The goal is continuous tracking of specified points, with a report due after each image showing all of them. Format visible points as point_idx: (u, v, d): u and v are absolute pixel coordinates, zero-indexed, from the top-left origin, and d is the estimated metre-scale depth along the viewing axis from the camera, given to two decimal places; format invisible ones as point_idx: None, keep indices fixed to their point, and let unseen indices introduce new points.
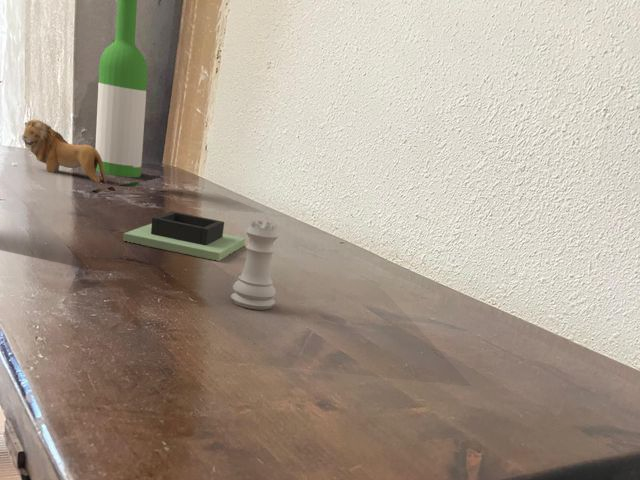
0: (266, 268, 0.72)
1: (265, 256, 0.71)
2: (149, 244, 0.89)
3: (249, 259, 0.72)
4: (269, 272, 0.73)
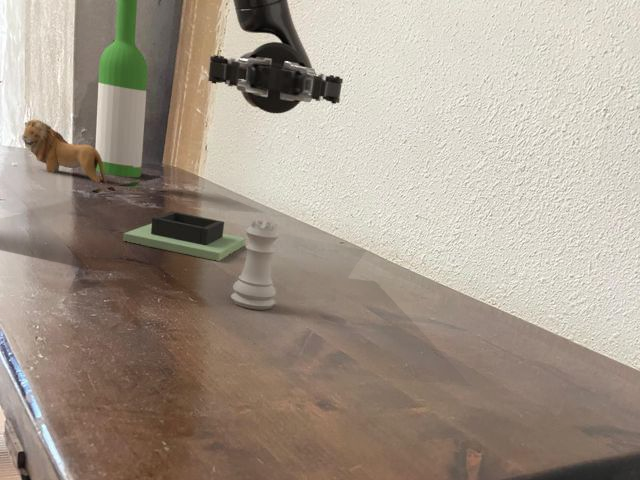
0: (266, 268, 0.72)
1: (265, 256, 0.71)
2: (149, 244, 0.89)
3: (249, 259, 0.72)
4: (269, 272, 0.73)
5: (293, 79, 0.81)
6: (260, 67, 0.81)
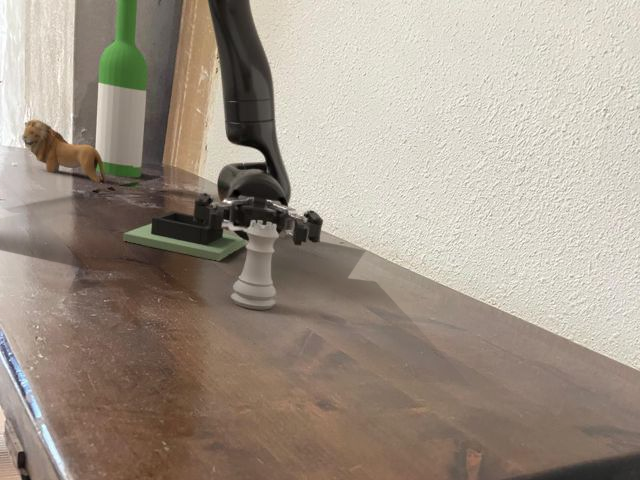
0: (266, 268, 0.72)
1: (265, 256, 0.71)
2: (149, 244, 0.89)
3: (249, 259, 0.72)
4: (269, 272, 0.73)
5: (275, 219, 0.84)
6: (243, 207, 0.83)
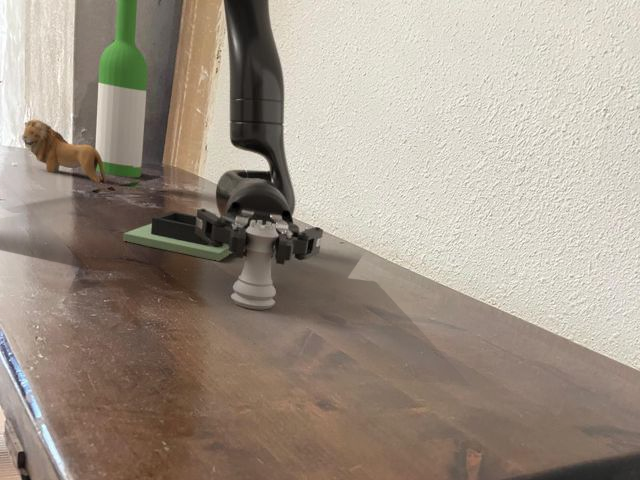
0: (266, 268, 0.72)
1: (265, 256, 0.71)
2: (149, 244, 0.89)
3: (249, 259, 0.72)
4: (269, 272, 0.73)
5: None
6: None
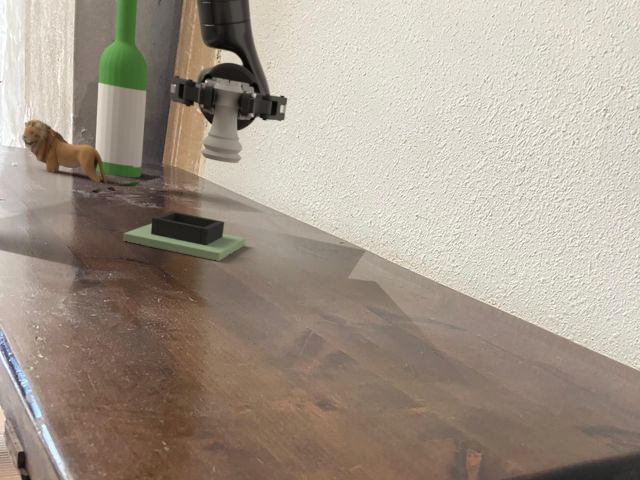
0: (232, 123, 0.80)
1: (231, 111, 0.79)
2: (149, 244, 0.89)
3: (216, 114, 0.79)
4: (235, 127, 0.80)
5: None
6: None
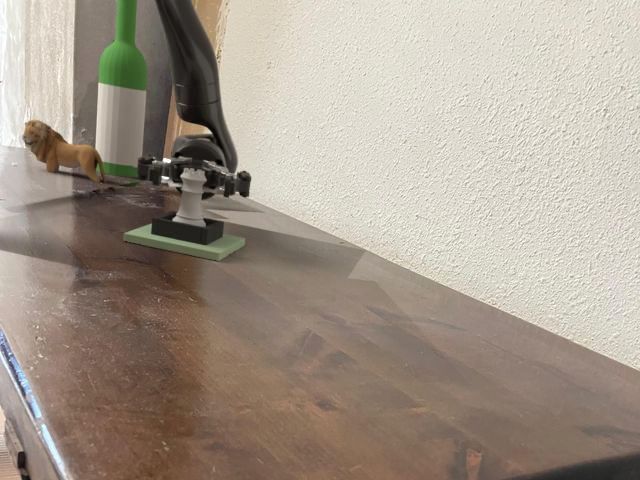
0: (197, 206, 0.92)
1: (196, 196, 0.91)
2: (149, 244, 0.89)
3: (183, 198, 0.92)
4: (200, 209, 0.93)
5: (209, 176, 0.96)
6: (181, 166, 0.95)
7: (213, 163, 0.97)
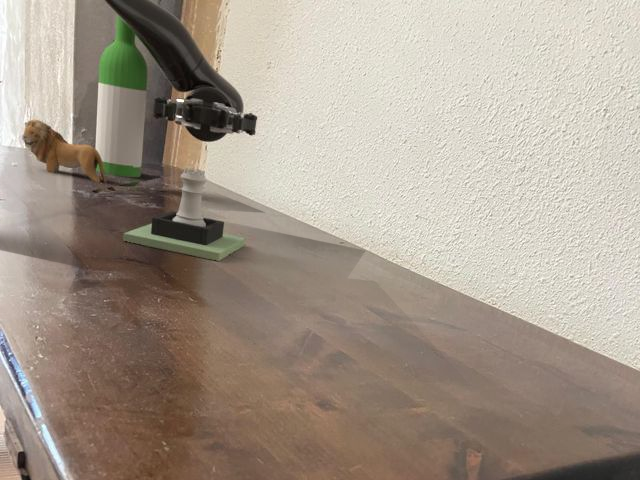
0: (197, 206, 0.92)
1: (196, 196, 0.91)
2: (149, 244, 0.89)
3: (183, 198, 0.92)
4: (200, 209, 0.93)
5: (219, 116, 1.05)
6: (193, 106, 1.04)
7: (222, 105, 1.06)
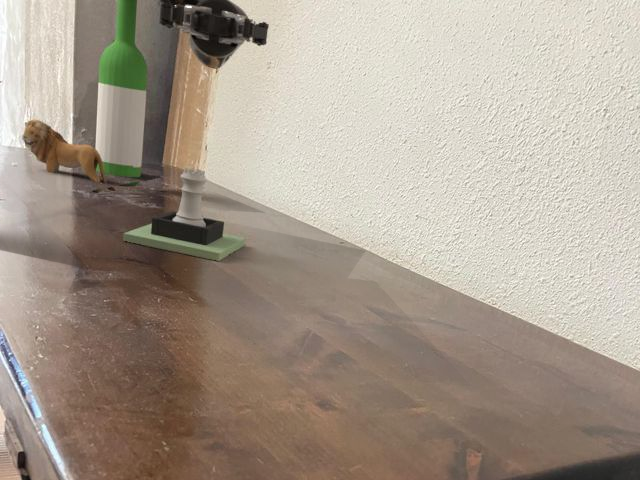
0: (197, 206, 0.92)
1: (196, 196, 0.91)
2: (149, 244, 0.89)
3: (183, 198, 0.92)
4: (200, 209, 0.93)
5: (228, 24, 1.00)
6: (201, 14, 0.99)
7: (232, 13, 1.01)
